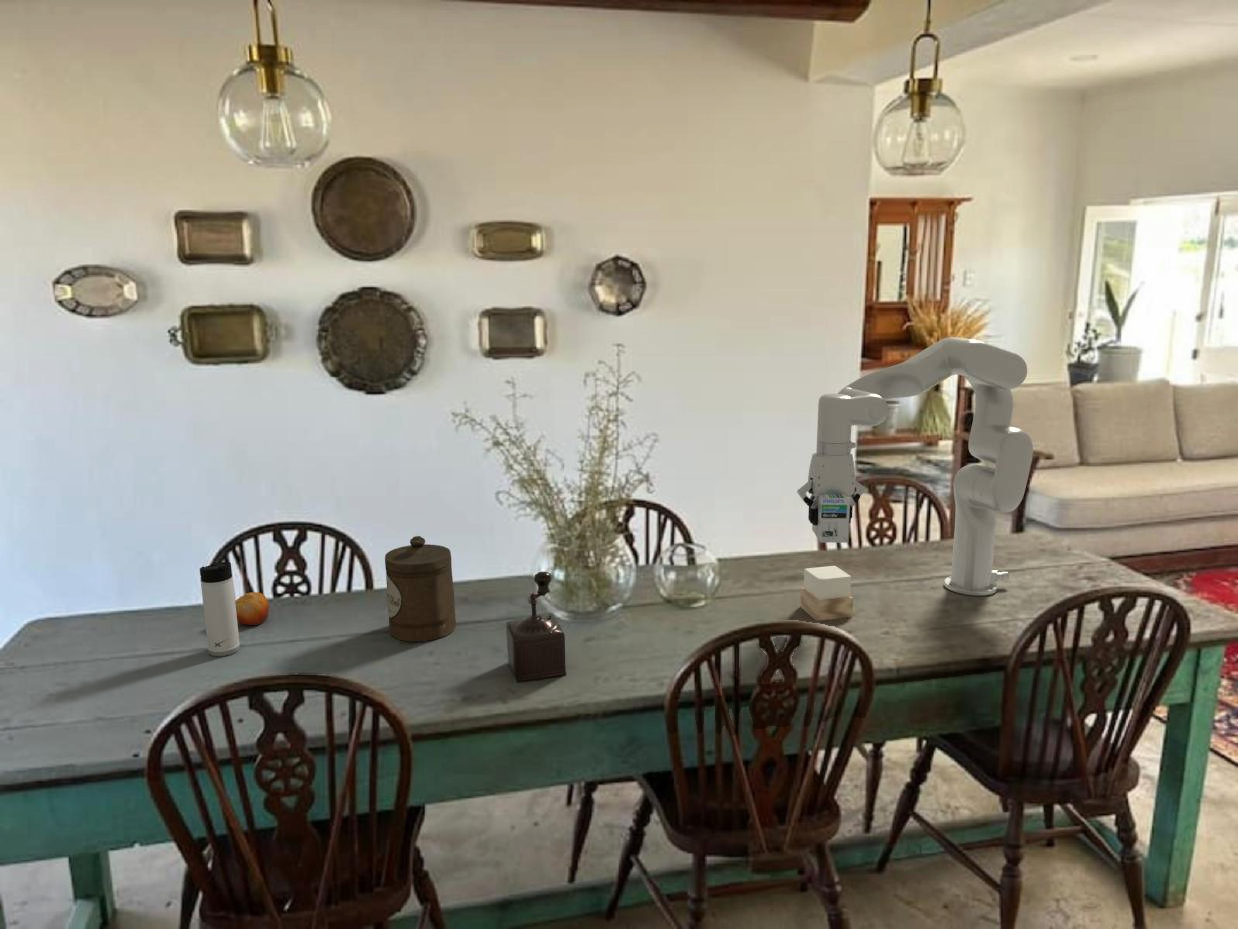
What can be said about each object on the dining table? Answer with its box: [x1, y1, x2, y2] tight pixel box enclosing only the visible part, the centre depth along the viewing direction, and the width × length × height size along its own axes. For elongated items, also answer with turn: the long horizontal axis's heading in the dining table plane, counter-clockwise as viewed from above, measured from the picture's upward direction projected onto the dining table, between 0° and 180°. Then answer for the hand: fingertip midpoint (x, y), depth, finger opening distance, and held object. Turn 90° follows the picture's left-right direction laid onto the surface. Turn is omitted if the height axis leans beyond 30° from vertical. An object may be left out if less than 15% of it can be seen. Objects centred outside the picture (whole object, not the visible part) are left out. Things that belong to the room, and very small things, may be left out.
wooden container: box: [384, 535, 457, 643], centre depth 211 cm, size 15×15×22 cm
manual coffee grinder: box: [505, 571, 567, 684], centre depth 193 cm, size 16×11×18 cm
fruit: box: [235, 591, 270, 626], centre depth 218 cm, size 8×8×8 cm
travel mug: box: [199, 561, 241, 657], centre depth 200 cm, size 6×7×20 cm
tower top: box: [803, 565, 852, 600], centre depth 220 cm, size 8×8×5 cm
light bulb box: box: [811, 494, 850, 544], centre depth 216 cm, size 11×7×11 cm, turn 179°
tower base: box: [800, 587, 854, 622], centre depth 221 cm, size 9×9×5 cm
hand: (830, 522), depth 217 cm, fingers closed on light bulb box, 7 cm apart
